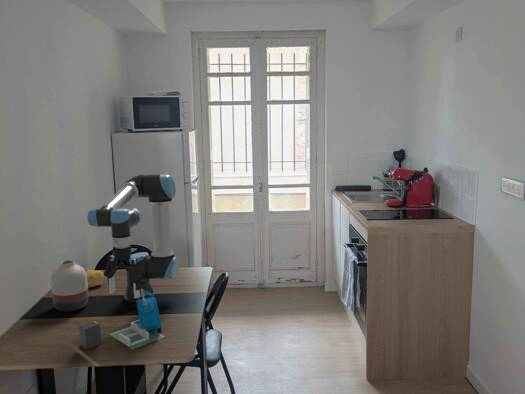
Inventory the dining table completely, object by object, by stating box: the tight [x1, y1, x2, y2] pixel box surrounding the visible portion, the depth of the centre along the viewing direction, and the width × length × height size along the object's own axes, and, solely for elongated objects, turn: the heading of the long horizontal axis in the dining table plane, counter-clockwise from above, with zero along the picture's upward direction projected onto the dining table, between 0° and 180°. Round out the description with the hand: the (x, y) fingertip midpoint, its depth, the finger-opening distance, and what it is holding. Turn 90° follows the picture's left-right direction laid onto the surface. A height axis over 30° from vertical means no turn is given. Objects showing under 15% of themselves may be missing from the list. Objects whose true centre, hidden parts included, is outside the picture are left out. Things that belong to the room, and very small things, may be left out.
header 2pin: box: [130, 318, 142, 332], centre depth 228 cm, size 6×7×3 cm
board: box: [108, 326, 166, 350], centre depth 221 cm, size 20×16×1 cm
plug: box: [79, 320, 102, 350], centre depth 213 cm, size 5×7×10 cm
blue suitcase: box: [135, 289, 163, 335], centre depth 226 cm, size 17×10×20 cm, turn 15°
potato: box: [85, 269, 106, 289], centre depth 285 cm, size 10×14×10 cm
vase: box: [50, 259, 89, 313], centre depth 255 cm, size 17×17×24 cm
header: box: [118, 327, 149, 347], centre depth 217 cm, size 8×10×4 cm
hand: (124, 294), depth 217 cm, fingers open, 13 cm apart
